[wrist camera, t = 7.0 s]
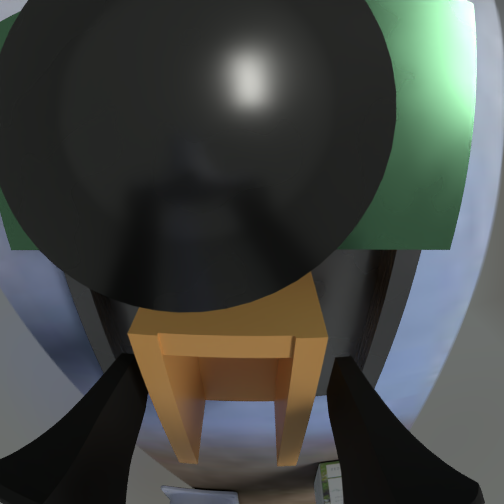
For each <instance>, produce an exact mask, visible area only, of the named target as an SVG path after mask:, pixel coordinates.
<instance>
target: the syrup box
mask: <svg viewBox="0 0 504 504" xmlns="http://www.w3.org/2000/svg"><path fill="white" fill-rule="evenodd" d="M314 490H315V498H316V504H343V489H342V477H341V469H340V463H339V461H333V462H326V463H320V464H319V466H318V470H317V474H316V478H315V482H314Z"/></svg>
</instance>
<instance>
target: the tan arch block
mask: <svg viewBox="0 0 504 504" xmlns="http://www.w3.org/2000/svg"><path fill="white" fill-rule="evenodd" d="M128 336H129V340H130V343H131V346H132V349H133V351H134V354H135V357H136V360H137V363H138V366H139V368H140V371H141V374H142V377H143V379H144V382H145V385H146V387H147V390H148V392H149V395H150V397H151V400H152V402H153V405H154V407H155V410H156V412H157V414H158V417H159V419H160V421H161V424H162V426H163V428H164V430H165V433H166V435H167V437H168V439H169V441H170V444H171V446H172V448H173V450H174V452H175V454H176V456H177V458H178V460H179V462H180V463H190V464H198V457H199V448H200V440H201V432H202V424H203V416H204V408H205V400H219V401H274V404H275V426H276V449H277V466H295V465H296V463H297V460H298V457H299V453H300V450H301V447H302V443H303V440H304V436H305V432H306V429H307V425H308V421H309V418H310V414H311V410H312V406H313V402H314V398H315V394H316V390H317V386H318V382H319V378H320V373H321V369H322V364H323V360H324V355H325V351H326V346H327V341H328V334H327V330H326V326H325V322H324V318H323V315H322V311H321V307H320V303H319V299H318V296H317V292H316V288H315V284H314V281H313V277H312V274H311V271H310V272H309V273H307V274H306V275H305V276H303V277H302V278H300V279H299V280H297V281H296V282H294V283H292V284H290V285H288V286H286V287H285V288H283V289H281V290H279V291H277V292H275V293H273V294H271V295H268V296H265V297H263V298H260V299H258V300H255V301H253V302H250V303H246V304H242V305H239V306H235V307H231V308H227V309H220V310H213V311H206V312H181V313H178V312H167V311H156V310H151V309H146V308H141V307H139V309H138V311H137V313H136V315H135V318H134V320H133V322H132V324H131V327H130V329H129V331H128Z"/></svg>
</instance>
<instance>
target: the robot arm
mask: <svg viewBox="0 0 504 504" xmlns="http://www.w3.org/2000/svg"><path fill="white" fill-rule="evenodd" d="M326 392H327V402H328V412H329V418H330V423H331V427H332V432H333V436H334V440H335V445H336V449H337V454H338V458H339V463H340V469H341V477H342V489H343V504H484V503H485V501H484V498H483V494H482V491H481V488H480V486H479V484H478V483H477V482H475V481H474V480H472V479H470V478H468V477H467V476H465V475H463V474H461V473H460V472H458V471H456V470H455V469H453V468H452V467H451V466H449V465H447V464H446V463H445V462H444V461H442V460H441V459H440V458H439V457H437V456H436V455H434V454H433V453H432V452H431V451H430V450H428V449H427V448H426V447H425V446H424V445H423V444H422V443H420V441H418V440H417V439H416V438H415V437H414V436H413V435H412V434H411V433H410V432H409V431H408V430H407V429H406V428H405V427H404V425H403V424H402V423H401V422H400V421H399V420H398V419H397V418H396V416H395V415H394V414H393V413H392V412H391V410H390V409H389V408H388V407H387V405H386V404H385V403H384V402H383V400H382V399H381V398H380V396H379V395H378V394H377V392H376V391H375V390H374V388H373V387H372V385H371V384H370V382H369V381H368V380H367V378H366V377H365V375H364V374H363V372H362V371H361V369H360V368H359V366H358V364H357V363H356V361H355V360H354V358H353V357H352V356H347V357H335V360H334V364H333V368H332V372H331V376H330V380H329V383H328V387H327V391H326ZM147 396H148V390H147V387H146V385H145V382H144V379H143V377H142V374H141V371H140V368H139V366H138V363H137V360H136V357H135V354H129V353H121V354H120V355H119V356H118V358H117V359H116V360H115V361H114V362H113V363H112V365H111V366H110V367H109V368H108V369H107V371H106V372H105V373H104V374H103V375H102V377H101V378H100V379H99V380H98V381H97V382H96V383H95V385H94V386H93V387H92V388H91V389H90V390H89V391H88V393H87V394H86V395H85V396H84V397H83V398H82V399H81V400H80V401H79V402H78V403H77V404H76V405H75V406H74V407H73V408H72V409H71V410H70V411H69V412H68V413H67V414H66V415H65V416H64V417H63V418H62V419H61V420H60V421H59V422H57V423H56V424H55V425H54V426H53V427H51V428H50V429H49V430H47V431H46V432H45V433H44V434H42V435H41V436H40V437H38V438H37V439H36V440H34V441H32V442H31V443H29V444H28V445H26V446H24V447H23V448H21V449H20V450H18V451H16V452H14V453H13V454H11V455H9V456H7V457H4V458H2V459H0V502H1V503H3V504H126V492H127V482H128V476H129V469H130V463H131V459H132V455H133V451H134V448H135V444H136V441H137V437H138V434H139V430H140V427H141V423H142V420H143V417H144V413H145V408H146V402H147ZM161 490H162V491H163V492H164V493H165V494H166V496H167V497H168V498H169V499H170V504H239V500H238V494H237V492H230V491H211V490H199V489H188V488H179V487H171V486H164V485H163V486H161Z"/></svg>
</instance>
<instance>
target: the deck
mask: <svg viewBox="0 0 504 504" xmlns="http://www.w3.org/2000/svg"><path fill="white" fill-rule="evenodd" d="M475 97H476V29H475V15H474V5H473V3H471V2H468V1H466V0H28V1H27V3H26V4H25V5H24V7H23V8H22V10H21V11H20V12H18V13H16V14H14V15H12V16H10V17H8V18H6V19H4V20H3V21H1V22H0V213H1V217H2V220H3V224H4V227H5V231H6V234H7V238H8V241H9V244H10V247H11V250H40V251H41V252H42V253H43V254H44V255H45V256H46V257H47V258H48V259H49V260H50V261H51V262H52V263H53V264H55V265H56V266H57V267H58V268H60V269H61V270H62V271H63V272H64V274H65V277H66V280H67V283H68V286H69V289H70V292H71V295H72V298H73V300H74V303H75V306H76V309H77V311H78V314H79V317H80V319H81V322H82V324H83V327H84V329H85V332H86V334H87V337H88V339H89V341H90V344H91V346H92V348H93V351H94V353H95V355H96V357H97V360H98V362H99V364H100V366H101V368H102V371H103V373H105V372H106V371H107V369H108V368H109V367H110V366H111V365H112V363H113V362H114V361H115V360H116V359H117V358H118V356H119V355H120V354H121V353H129V354H134V351H133V349H132V346H131V343H130V340H129V336H128V331H129V329H130V327H131V324H132V322H133V320H134V318H135V315H136V313H137V311H138V309H139V307H141V308H146V309H151V310H156V311H167V312H178V313H181V312H206V311H213V310H220V309H227V308H231V307H235V306H239V305H242V304H246V303H250V302H253V301H255V300H258V299H260V298H263V297H265V296H268V295H271V294H273V293H275V292H277V291H279V290H281V289H283V288H285V287H286V286H288V285H290V284H292V283H294V282H296V281H297V280H299V279H300V278H302V277H303V276H305V275H306V274H307V273H309V272H310V271H311V274H312V277H313V281H314V284H315V288H316V292H317V296H318V299H319V303H320V307H321V311H322V315H323V318H324V322H325V326H326V330H327V334H328V341H327V346H326V351H325V355H324V360H323V364H322V369H321V373H320V378H319V382H318V386H317V390H316V394H315V396H322V395H327V392H326V391H327V387H328V383H329V380H330V376H331V372H332V368H333V364H334V360H335V357H347V356H352V357H353V358H354V360H355V361H356V363H357V364H358V366H359V368H360V369H361V371H362V372H363V374H364V375H365V377H366V378H367V380H368V381H369V382H370V384H371V385H372V387H373V388H375V386H376V383H377V381H378V379H379V376H380V374H381V372H382V369H383V367H384V364H385V362H386V359H387V356H388V354H389V351H390V349H391V346H392V343H393V341H394V338H395V335H396V332H397V329H398V327H399V324H400V321H401V318H402V315H403V312H404V309H405V306H406V302H407V299H408V296H409V293H410V289H411V286H412V283H413V279H414V276H415V272H416V268H417V265H418V261H419V257H420V253H421V250H450V247H451V243H452V239H453V236H454V232H455V228H456V224H457V219H458V215H459V211H460V206H461V202H462V197H463V192H464V187H465V181H466V175H467V169H468V163H469V157H470V149H471V142H472V133H473V123H474V112H475Z"/></svg>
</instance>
